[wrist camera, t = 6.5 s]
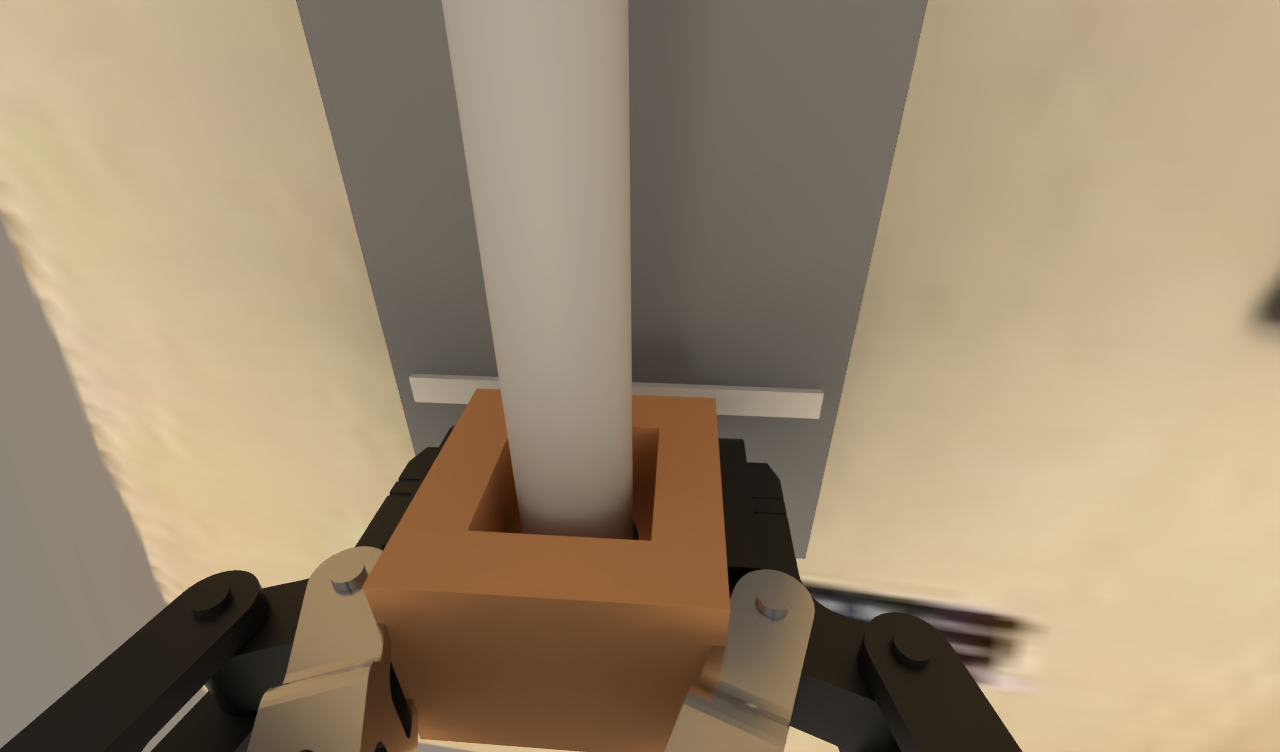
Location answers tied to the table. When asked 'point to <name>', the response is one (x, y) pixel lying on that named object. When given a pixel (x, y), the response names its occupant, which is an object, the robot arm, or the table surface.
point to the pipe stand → (618, 218)
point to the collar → (557, 592)
